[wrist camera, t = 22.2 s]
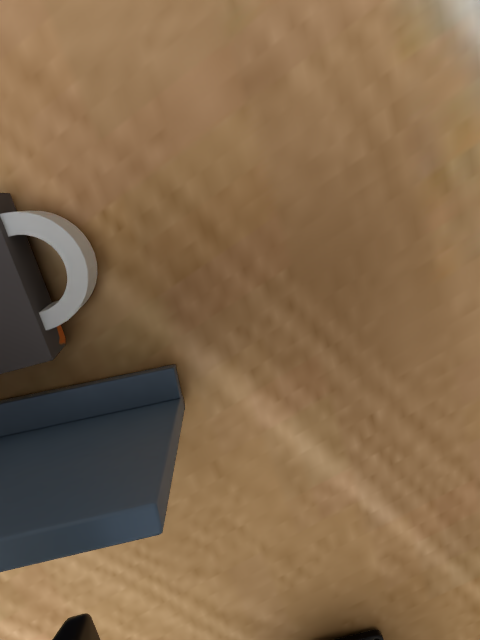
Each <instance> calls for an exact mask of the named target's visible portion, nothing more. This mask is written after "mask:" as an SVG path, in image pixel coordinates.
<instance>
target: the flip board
mask: <svg viewBox="0 0 480 640" xmlns="http://www.w3.org/2000/svg"><path fill="white" fill-rule="evenodd" d="M184 410H185V403H184V398H183V395H182V394H181V388H180V384H179V379H178V374H177V369H176V365H175V364H173V365H168V366H163V367H159V368H154V369H149V370H144V371H140V372H135V373H130V374H125V375H120V376H116V377H111V378H106V379H101V380H97V381H92V382H87V383H82V384H77V385H73V386H68V387H63V388H58V389H54V390H49V391H44V392H39V393H34V394H30V395H25V396H20V397H15V398H11V399H6V400H1V401H0V572H3V571H7V570H11V569H15V568H20V567H24V566H28V565H32V564H37V563H41V562H45V561H49V560H54V559H58V558H62V557H66V556H71V555H75V554H79V553H83V552H88V551H92V550H96V549H100V548H105V547H109V546H113V545H117V544H122V543H126V542H130V541H134V540H139V539H143V538H147V537H151V536H156V535H159V534H161V533H162V532H163V527H164V521H165V516H166V510H167V504H168V499H169V493H170V488H171V482H172V476H173V471H174V465H175V460H176V454H177V449H178V443H179V437H180V432H181V426H182V421H183V415H184Z"/></svg>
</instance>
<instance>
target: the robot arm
mask: <svg viewBox="0 0 480 640" xmlns="http://www.w3.org/2000/svg"><path fill="white" fill-rule="evenodd" d="M53 640H100V638H99V635H98V633H97V630H96V628H95V625H94V623H93V620H92V618H91V616H90V615H89V614H81V615H77V616H73V617H70V618H68V619H67V620H66V621H65V622H64V624H63V625H62V627H61V628H60V630H59V631H58V632H57V634H56V635H55V637H54V638H53ZM336 640H383V637H382V635H381V633H380V631H379V630H370V631H366V632H363V633H359V634H355V635H351V636H347V637H343V638H339V639H336Z"/></svg>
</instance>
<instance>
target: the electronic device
mask: <svg viewBox="0 0 480 640" xmlns="http://www.w3.org/2000/svg"><path fill="white" fill-rule="evenodd" d="M26 235H29V236H33V237H36V238H39V239H41V240H43V241H45V242H46V243H48V244H49V245H51V246H52V247H53V248H54V249H55V250H56V251H57V252H58V254H59V255H60V256H61V258H62V260H63V262H64V264H65V267H66V271H67V286H66V289H65V292H64V295H63V296H62V298H61V299H60V300H58V301H55V302H52V301H51V299H50V296H49V293H48V291H47V288H46V286H45V283H44V280H43V278H42V275H41V273H40V270H39V267H38V265H37V262H36V260H35V257H34V255H33V252H32V249H31V247H30V244H29V242H28V239H27V236H26ZM96 280H97V261H96V257H95V253H94V251H93V248H92V246H91V244H90V242H89V241H88V239H87V238H86V237H85V235H84V234H83V233H82V232H81V231H80V230H79V229H78V228H77V227H76V226H75V225H74V224H72V223H71V222H69V221H68V220H66V219H65V218H63V217H60V216H58V215H56V214H53V213H49V212H45V211H32V210H31V211H18V212H17V210H16V208H15V205H14V203H13V200H12V197H11V195H10V193H0V374H3V373H6V372H10V371H14V370H18V369H21V368H25V367H29V366H32V365H36V364H40V363H44V362H47V361H51V360H53V359H54V358H55V357H56V356H57V355H58V353H59V352H60V351H61V350H62V349H63V347H64V346H65V345H66V341H65V335H64V332H63V330H62V327H61V324H62V323H64V322H66V321H67V320H69V319H70V318H71V317H72V316H73V315H74V314H75V313H76V312H77V311H78V310H79V309H80V308H81V307H82V306H83V305H84V304H85V303H86V302H87V300H88V299H89V297H90V296H91V294H92V292H93V290H94V287H95V285H96Z"/></svg>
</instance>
